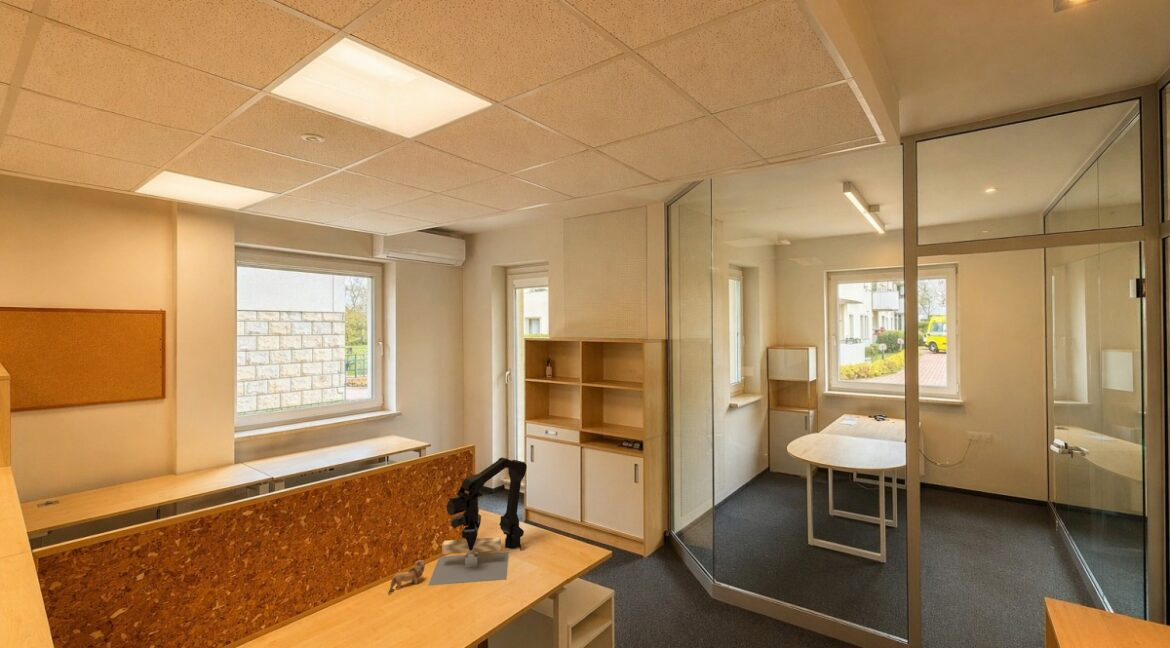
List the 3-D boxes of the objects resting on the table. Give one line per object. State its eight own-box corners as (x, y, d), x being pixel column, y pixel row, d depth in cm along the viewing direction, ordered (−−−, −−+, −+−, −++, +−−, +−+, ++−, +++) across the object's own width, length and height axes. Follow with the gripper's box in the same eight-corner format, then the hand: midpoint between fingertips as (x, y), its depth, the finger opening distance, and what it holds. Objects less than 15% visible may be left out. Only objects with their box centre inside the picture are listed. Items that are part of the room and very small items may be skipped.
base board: (508, 554, 221) (508, 552, 221) (506, 582, 196) (506, 579, 196) (439, 559, 217) (439, 556, 217) (428, 588, 193) (428, 585, 193)
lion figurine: (421, 579, 200) (421, 556, 200) (427, 584, 196) (427, 561, 197) (385, 592, 190) (384, 569, 190) (390, 598, 186) (390, 573, 186)
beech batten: (500, 546, 215) (500, 537, 215) (500, 550, 211) (500, 540, 211) (443, 550, 212) (443, 540, 212) (442, 554, 208) (442, 544, 208)
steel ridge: (479, 558, 216) (478, 545, 216) (477, 566, 208) (477, 554, 208) (467, 558, 215) (467, 546, 215) (465, 567, 207) (464, 554, 207)
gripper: (455, 502, 220) (455, 538, 220) (448, 517, 202) (449, 556, 201) (480, 500, 221) (481, 536, 221) (476, 516, 203) (477, 554, 203)
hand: (472, 545), depth 211 cm, fingers open, 9 cm apart
